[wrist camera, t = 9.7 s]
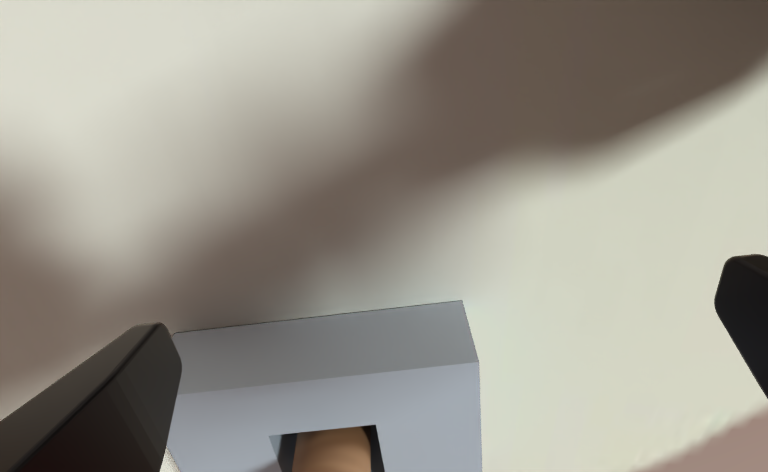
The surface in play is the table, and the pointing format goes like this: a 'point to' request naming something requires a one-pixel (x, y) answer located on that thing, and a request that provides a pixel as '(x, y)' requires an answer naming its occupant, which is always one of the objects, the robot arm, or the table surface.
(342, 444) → the peg
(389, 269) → the table surface
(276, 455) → the socket block
